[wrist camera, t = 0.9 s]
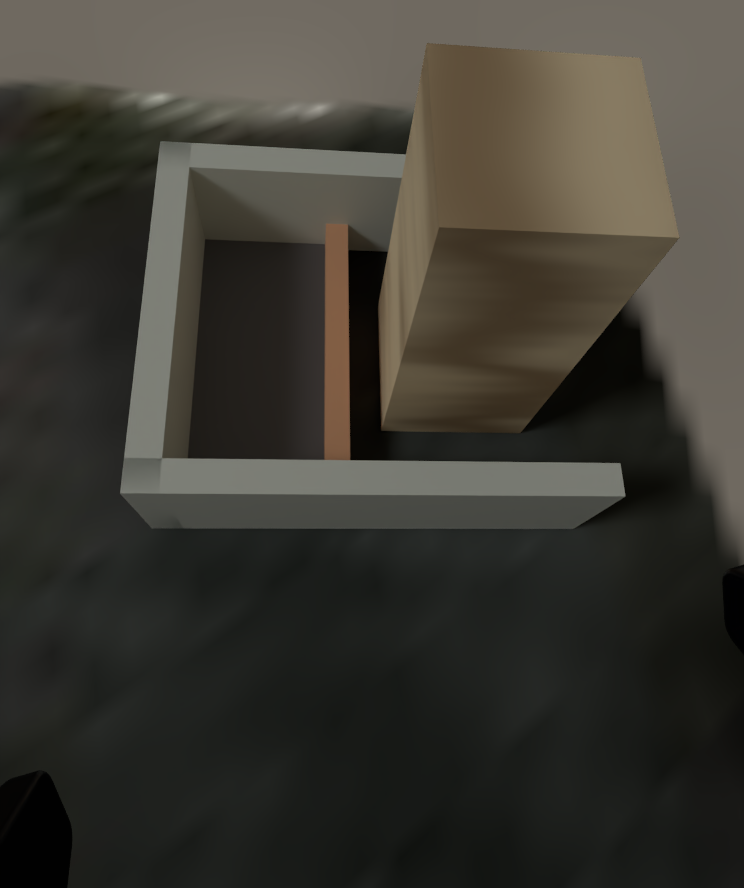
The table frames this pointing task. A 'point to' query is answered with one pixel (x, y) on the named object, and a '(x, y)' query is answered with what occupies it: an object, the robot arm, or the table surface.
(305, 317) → the trap trough
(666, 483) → the table surface
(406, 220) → the maple block
